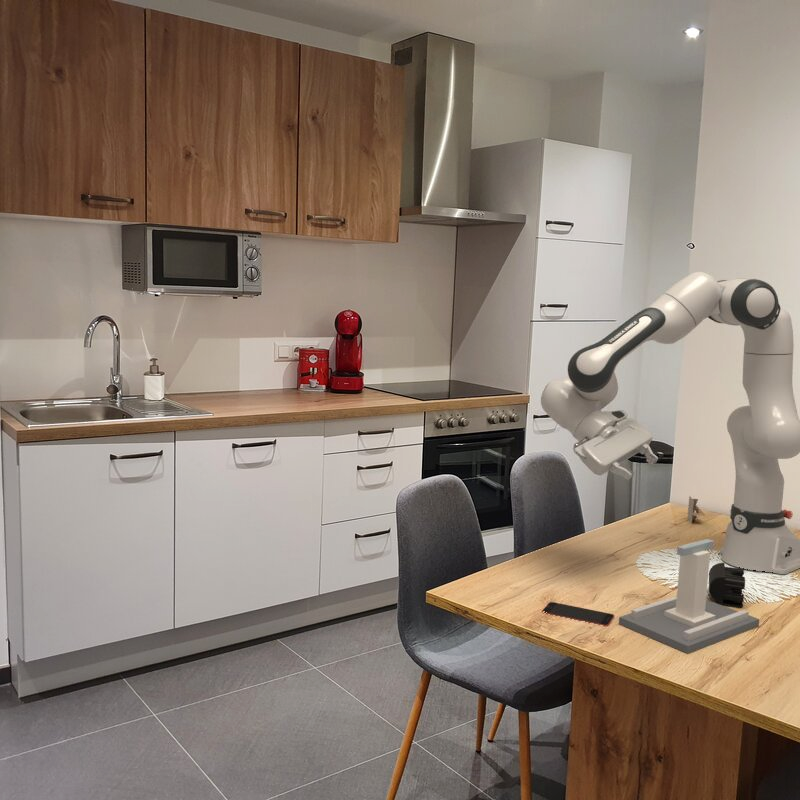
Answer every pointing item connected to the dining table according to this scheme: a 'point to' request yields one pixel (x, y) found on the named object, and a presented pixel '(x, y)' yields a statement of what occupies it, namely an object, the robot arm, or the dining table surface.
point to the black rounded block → (727, 585)
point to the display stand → (692, 584)
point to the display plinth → (684, 636)
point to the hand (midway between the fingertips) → (643, 469)
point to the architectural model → (693, 510)
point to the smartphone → (579, 613)
